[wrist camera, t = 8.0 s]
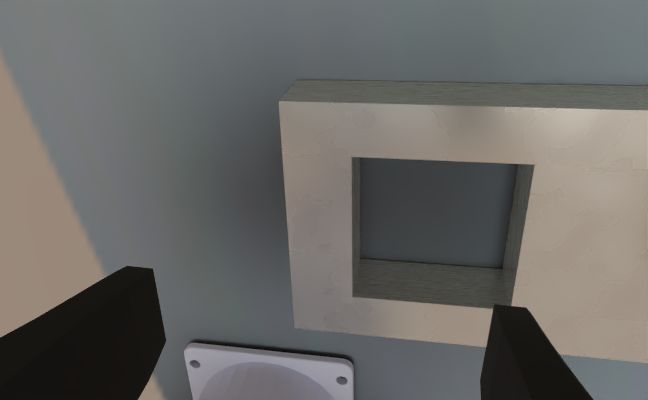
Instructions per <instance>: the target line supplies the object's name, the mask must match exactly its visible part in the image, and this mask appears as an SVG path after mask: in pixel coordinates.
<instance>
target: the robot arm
mask: <svg viewBox="0 0 648 400" xmlns="http://www.w3.org/2000/svg"><path fill="white" fill-rule="evenodd" d="M165 342H166V337H165V332H164V326H163V321H162V315H161V310H160V305H159V299H158V294H157V288H156V283H155V278H154V272H153V269H151V268H141V267H132V266H126V267H124V268H122V269H120V270H118V271H116V272H115V273H113V274H111V275H109V276H107V277H106V278H104V279H102V280H100V281H99V282H97V283H95V284H94V285H92V286H90V287H88V288H87V289H85V290H84V291H82V292H80V293H78V294H77V295H75V296H74V297H72V298H70V299H68V300H67V301H65V302H63V303H62V304H60V305H58V306H56V307H55V308H53V309H51V310H50V311H48V312H46V313H44V314H43V315H41V316H39V317H37V318H36V319H34V320H32V321H30V322H28V323H27V324H25V325H23V326H21V327H19V328H17V329H16V330H14V331H12V332H10V333H8V334H6V335H4V336H3V337H1V338H0V400H138V398H139V397H140V395H141V393H142V391H143V390H144V388H145V386H146V385H147V383H148V381H149V379H150V377H151V374H152V372H153V370H154V368H155V366H156V364H157V361H158V359H159V356H160V354H161V352H162V349H163V347H164V345H165ZM184 357H185V362H186V367H187V372H188V377H189V382H190V387H191V392H192V397H193V400H354V367H353V364H352V363H351V362H350V361H348V360H347V359H343V358H333V357H324V356H314V355H305V354H296V353H286V352H277V351H267V350H258V349H249V348H239V347H230V346H220V345H211V344H201V343H190V344H188V346H187V347H186V349H185V351H184ZM195 360H196V361H195ZM197 361H198V362H197ZM340 376H342V377H345V378H340ZM480 385H481V400H593V398H592V397H591V396H590V395H589V393H588V392H587V391H586V389H585V388H584V387H583V386H582V384H581V383H580V382H579V380H578V379H577V378H576V376H575V375H574V374H573V373H572V371H571V370H570V368H569V367H568V366H567V364H566V363H565V362H564V360H563V359H562V358H561V356H560V355H559V353H558V352H557V350H556V349H555V348H554V346H553V345H552V343H551V342H550V340H549V339H548V338H547V336H546V335H545V333H544V332H543V330H542V329H541V327H540V326H539V324H538V323H537V321H536V320H535V318H534V317H533V315H532V314H531V312H530V311H529V310H528V309H527V308H526V307H516V306H507V305H497V304H494V307H493V313H492V318H491V324H490V329H489V335H488V340H487V346H486V352H485V357H484V363H483V368H482V374H481V379H480Z"/></svg>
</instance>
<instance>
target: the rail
mask: <svg viewBox="0 0 648 400" xmlns="http://www.w3.org/2000/svg"><path fill="white" fill-rule="evenodd" d="M279 115H280V129H281V143H282V158H283V172H284V186H285V200H286V214H287V229H288V243H289V257H290V271H291V285H292V300H293V314H294V328H297V329H307V330H317V331H327V332H338V333H348V334H358V335H368V336H378V337H389V338H399V339H409V340H419V341H429V342H440V343H450V344H460V345H470V346H480V347H486V346H487V340H488V335H489V329H490V324H491V318H492V313H493V307H494V304H497V305H507V306H516V307H526V308H527V309H528V310H529V311H530V312H531V314H532V315H533V317H534V318H535V320H536V321H537V323H538V324H539V326H540V327H541V329H542V330H543V332H544V333H545V335H546V336H547V338H548V339H549V340H550V342H551V343H552V345H553V346H554V348H555V349H556V350H557V352H558V353H559V354H562V355H572V356H582V357H592V358H603V359H613V360H623V361H633V362H643V363H648V86H619V85H564V84H509V83H454V82H399V81H344V80H296V81H295V82H294V83H293V84H292V86H291V87H290V88H289V89H288V90H287V92H286V93H285V94H284V95H283V96H282V98H281V99H280V100H279ZM361 157H367V158H390V159H414V160H438V161H462V162H485V163H509V164H518V167H517V174H516V180H515V187H514V194H513V200H512V207H511V213H510V220H509V227H508V233H507V240H506V247H505V253H504V260H503V266H502V269H495V268H481V267H468V266H454V265H441V264H427V263H414V262H400V261H387V260H373V259H360V189H361Z"/></svg>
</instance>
